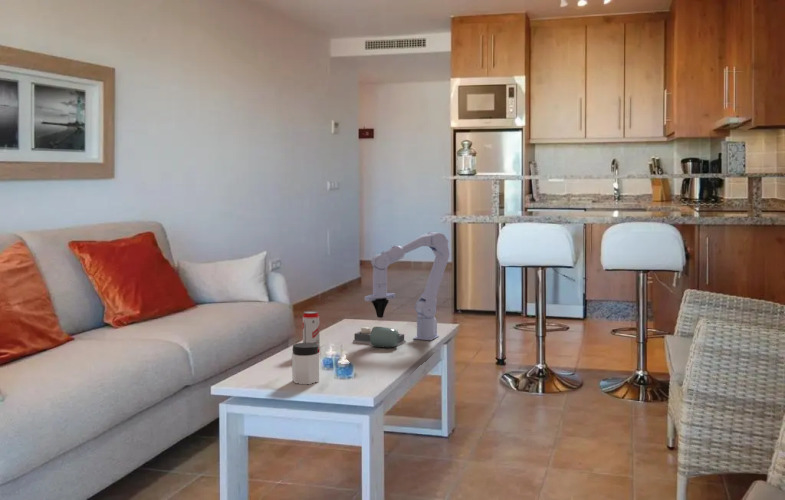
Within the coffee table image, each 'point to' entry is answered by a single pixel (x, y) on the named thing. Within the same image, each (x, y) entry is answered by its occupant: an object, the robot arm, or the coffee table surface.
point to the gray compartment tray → (366, 338)
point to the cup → (384, 337)
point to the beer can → (311, 328)
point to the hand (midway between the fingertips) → (380, 317)
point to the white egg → (365, 330)
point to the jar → (305, 363)
